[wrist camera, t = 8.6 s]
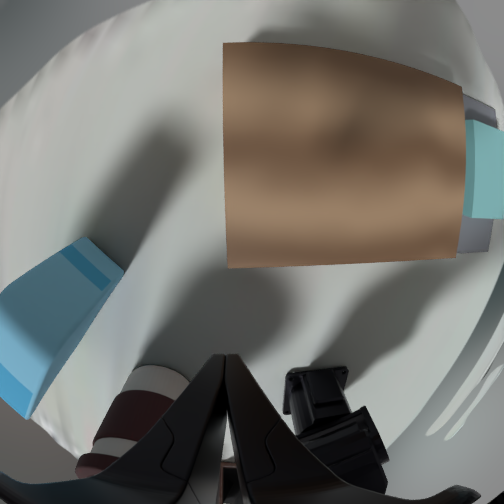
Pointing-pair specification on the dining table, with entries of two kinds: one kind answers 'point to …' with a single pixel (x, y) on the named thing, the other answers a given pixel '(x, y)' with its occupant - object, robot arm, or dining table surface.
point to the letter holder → (228, 485)
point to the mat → (472, 229)
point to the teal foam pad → (484, 171)
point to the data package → (50, 319)
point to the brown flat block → (338, 158)
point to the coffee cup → (132, 416)
